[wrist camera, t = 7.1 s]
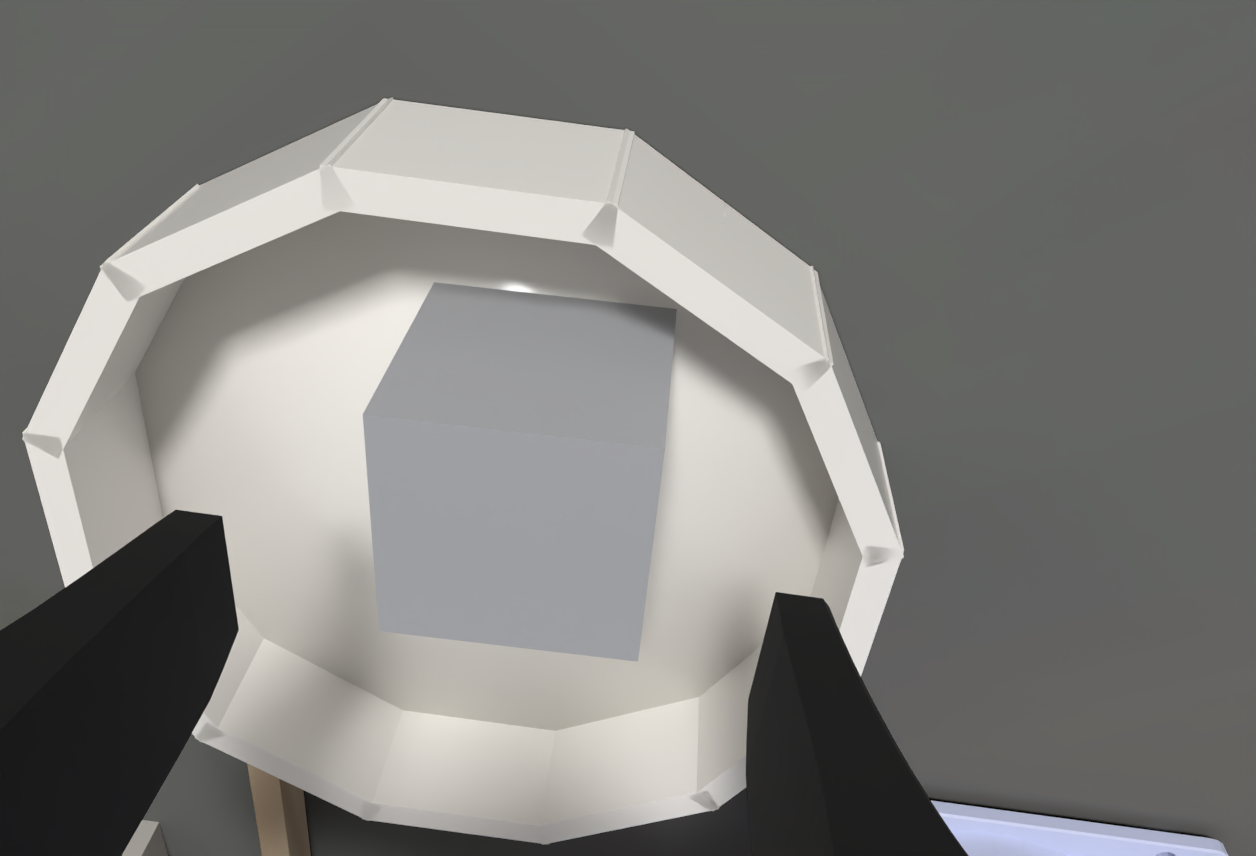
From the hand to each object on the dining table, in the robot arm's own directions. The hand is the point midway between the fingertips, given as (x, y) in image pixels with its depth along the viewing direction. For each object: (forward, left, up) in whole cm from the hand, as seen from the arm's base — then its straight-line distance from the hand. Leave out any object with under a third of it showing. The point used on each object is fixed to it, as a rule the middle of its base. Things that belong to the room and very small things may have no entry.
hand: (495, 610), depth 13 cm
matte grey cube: (0, 0, -5) cm, 5 cm away
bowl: (+1, +2, -6) cm, 6 cm away
